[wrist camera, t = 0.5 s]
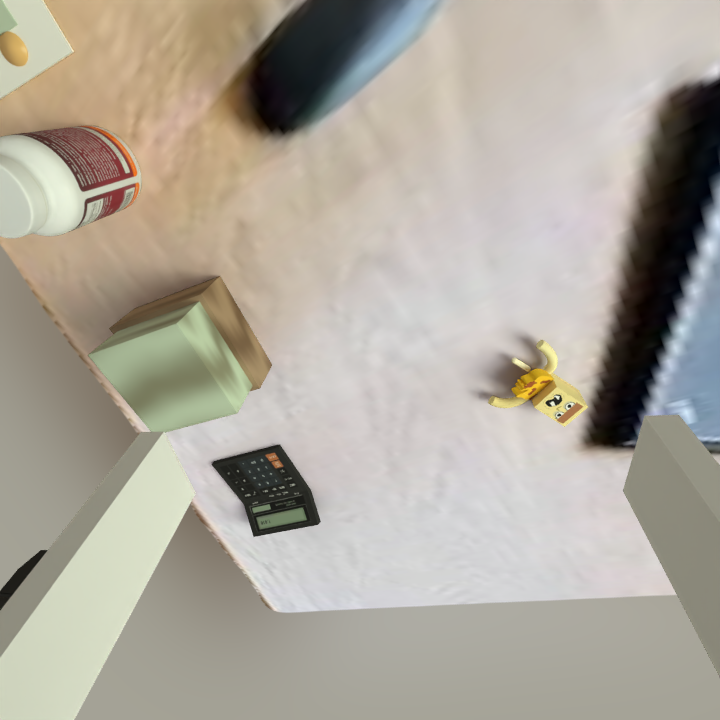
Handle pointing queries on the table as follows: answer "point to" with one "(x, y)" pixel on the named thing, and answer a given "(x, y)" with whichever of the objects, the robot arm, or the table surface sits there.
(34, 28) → the page
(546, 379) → the character toy
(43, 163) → the pill bottle
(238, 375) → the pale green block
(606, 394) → the table surface
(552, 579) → the table surface
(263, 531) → the calculator
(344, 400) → the table surface
